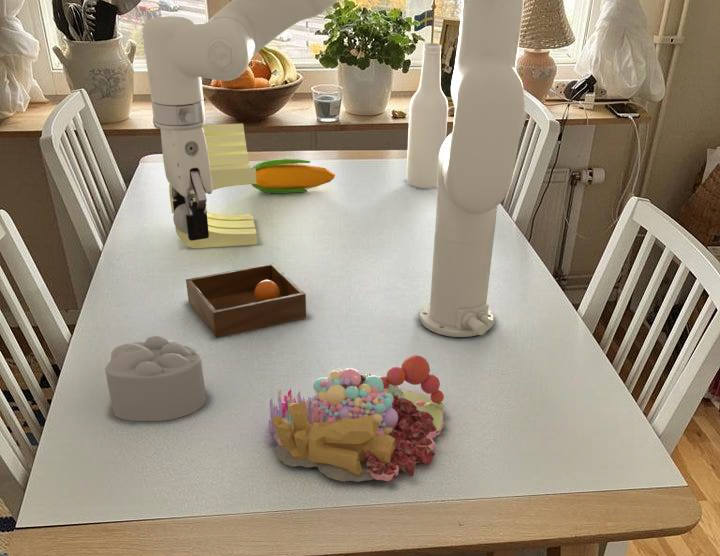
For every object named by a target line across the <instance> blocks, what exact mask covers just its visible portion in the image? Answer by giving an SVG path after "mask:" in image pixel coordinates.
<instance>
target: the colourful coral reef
mask: <svg viewBox="0 0 720 556" xmlns="http://www.w3.org/2000/svg"><path fill="white" fill-rule="evenodd" d="M430 372H431V368H430V363H429V362H428V361H427V359H426V358H424V357H423V356H421V355H418V354H413V355H410V356H408V357H406V358H405V359H404V360H403V362H402V363H401V367H399V366H392V367H390V368H389V369H388V371H387V373H386V376H379V375H374V374H373V375H372V373H366V372H365V373H361V372H359V371H358V370H357V369H356V368H353V367H347V368H345V369H343V370H342V369H340V368H335V369H333V370H332V371H331V372H330V374H329V376H328V377H323V376H322V377H318V378H317V379H315V381H314V382H313V383H312V387H313V390H314V391H315V393H314V394H313V396H312V398H311V397H307V398H305V396H304V395H303V396H301V390H299V391H298V393H297V395H296V396H297V400H296V396H293V395H292V393H293V392H292V388H291V387H290V388H289V389H288V390H287V393H286V394H285V395H283V401H282V391H281V389H278V393H277V403H278V407H277V405H276V404H275V403H274V402H273V398H270V400H269V412H270V413H269V414H270V415H269V416H270V418H269V419H268V427H269V428H268V431H269V437H270V443H273V439H274V440H275V442H276V443H277V445H276V447H275V448H274V453H275V455H276V456H275V457H276V459H277V460H278V461H282V463H283V464H284V465H286V466H289V467H292V468H293V467H303V468H317V469H318V470H319V472H320V473H321V474H324V475H325V476H326V477H327V478H330V479H332V480H336V481H338V482H349V481H351V482H352V481H353V482H356V483H357V482H358V483H359V482H365V481H372V480H376V481H384V482H391V481H393V480H394V479H395V478H397V476H398V475H399V474H400V473H399V471H402V472H404V473H405V474H407V475H409V476H411V477H412V478H413V477H414V475H415V474H414V473H415V468H416V464H420V463H421V464H422V463H423V464H424V465H425V466H426V467H429V466H430V464H431V462H432V460H433V459H434V457H435V455H436V452H434V450H435V446H436V442H435V441H434V439H435V438H436V437H437V436H440V435H441V434H442V433H441V432H442V430H443V428H444V423H445V422H444V418H445V411H444V409H443V408H444V406H445V405H444V403H443V401H444V398H445V395H444V393H443V392H442V391H441V390H440V387H441V382H440V379H439V378H438V377H437V376H436V375H435V374H430ZM404 382H406V383H408V384H410V385H413V386H417V385H420V388H421V390H422V392H424V393H425V394H428V395H430V397H428V396H424V395H422V394H420V393H419V392H414V391H411V390H405V389H402V388H399V386H401V385H402V384H404Z"/></svg>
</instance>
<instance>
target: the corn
mask: <svg viewBox="0 0 720 556" xmlns="http://www.w3.org/2000/svg"><path fill="white" fill-rule="evenodd" d="M310 163H311V160H307V159H300V158H280V159H279V158H277V159H265V160H262V161H259V162H258V163H257V164H255V165H253V166H252V168H256V181H257V184H250V186H252V187H253V188H255V189H256V190H258V191H260V192H264V193H268V194H299V193H305V192H308V190H307V189H312V188H316V187H319V186H323V185H326V184H328V183H331V181H333V180H334V179H335V177H336V174H335V173H334V172H332V171H331V170H329V169H328V168H326V167H321V166H315V165H309V164H310Z"/></svg>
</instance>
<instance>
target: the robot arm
mask: <svg viewBox="0 0 720 556" xmlns="http://www.w3.org/2000/svg"><path fill="white" fill-rule="evenodd" d="M338 2H339V0H230V1H229V2H228V3H227V4H226V5H224V6H223V7H221V9H219V10H218V11H217V12H216V13H214V14H213V16H212V17H211V18H210V19H209V20H208V21H207V22H205V23H196V24H195V23H194V22H193V20H191V19H189V18H187V17H183V16H172V15H171V16H158V17H152V18H150V19H147V20H146V21H145V22H144V24H143V27H142V39H143V45H144V53H145V61H146V69H147V77H148V85H149V92H150V100H151V106H152V108H151V109H152V117H153V124H154V126H155V127H156V128H159V129H160V139H161V152H162V161H163V168H164V173H165V177H166V180H167V182H168V184H171V186H172V198H173V200H176V201H173V207H174V212H175V209H176V208H177V207H178V206H179V205H182V204H186V207H187V212H188V215H186V221H187V230H188V238H189V240H191V241H194V240H200V239H206V238H208V237H209V231H208V221H207V212H208V210H207V195H206V194H208V195H211V194H213V191H214V190H213V186H212V178H211V171H210V163H209V156H208V150H207V144H206V139H205V135H204V130H203V127H202V125H206V112H205V110H206V109H205V100H204V99H205V98H204V91H203V79H208V80H212V81H220V82H228V81H233V80H236V79H238V78H240V77H241V76H242V75H243V74H244V73H245V72H246V71H247V69H248V67H249V64H250V62H251V60H252V58H253V57H254V56H255V55H256V54H257V53H259V52H260V51H261V50H262V49H264V48H265V47H266V46H267V45H268V44H270V43H271V42H273V40H275V39H276V38H277V37H279V36H280V35H281V34H282V33H284V32H286V30H288V29H289V28H291V27H293V26H294V25H296V24H299V22H302V21H304V20H307V19H308V20H309V19H312V18H315V17H318V16H319V15H321V14H322V13H324V12H326V11H327V10H328V9H330V8H331V7H332V6H334V5H335V4H336V3H338ZM524 5H525V0H461V12H460V21H459V22H460V23H459V34H458V41H457V47H456V54H455V61H454V67H453V68H454V69H453V73H452V77H451V85H450V97H451V100H452V103H453V107H454V116H453V123H452V124H453V125H452V131H451V133H449V135H448V136H446V140H445V141H444V143H443V145H442V147H441V149H440V153H439V157H438V167H437V187H436V208H435V209H436V211H435V226H434V228H435V229H434V240H433V254H432V270H431V285H430V301H429V303H427V304H426V305H424V306H423V307H422V309H421V310H420V313H419V320H420V322H421V324H422V326H423V327H424V328H426V329H427V330H429V331H431V332H433V333H435V334H438V335H440V336H444V337H445V336H446V337H452V338H469V337H476V336H483V335H484V334H485V333H486V332H488V331H489V330H491V328H492V327H494V325H495V321H494V320H495V316H494V313H493V312H492V310H491V309H490V308H489V306H490V305H489V304H488V294H489V293H488V292H489V283H490V276H491V267H492V256H493V249H494V248H493V247H494V238H495V231H496V224H497V211H498V206H499V205H500V204H501V203H502V202H503V200H504V199H505V198H506V196H507V194H508V192H509V190H510V187H511V184H512V180H513V175H514V172H515V167H516V166H515V165H516V160H517V155H518V150H519V146H520V145H519V144H520V139H521V133H522V127H523V122H524V114H525V107H526V104H525V103H526V102H525V101H526V98H525V97H526V96H525V88H524V85H523V82H522V79H521V77H520V76H519V74H518V72H517V59H518V52H519V45H520V38H521V30H522V22H523V15H524ZM202 78H203V79H202ZM191 190H194V194H191ZM204 191H205V192H206V194H205V192H204ZM192 198H195V201H194V202H193V204H192V206H191V201H193V199H192Z"/></svg>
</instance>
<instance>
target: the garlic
mask: <svg viewBox="0 0 720 556" xmlns="http://www.w3.org/2000/svg"><path fill="white" fill-rule="evenodd" d="M193 202H194V201H191V206H192V204H193ZM186 215H188V212H187V207H186V204H182V205H179V206H178V207H177V208H176V209H175V212H174V213H173V216H172V219H173V224H174V226H176V228H177V229H178V230H179V231H181V232H183V233H185V234H188V230H187V221H186ZM207 221H208V220H207ZM176 228H175V229H176Z"/></svg>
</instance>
